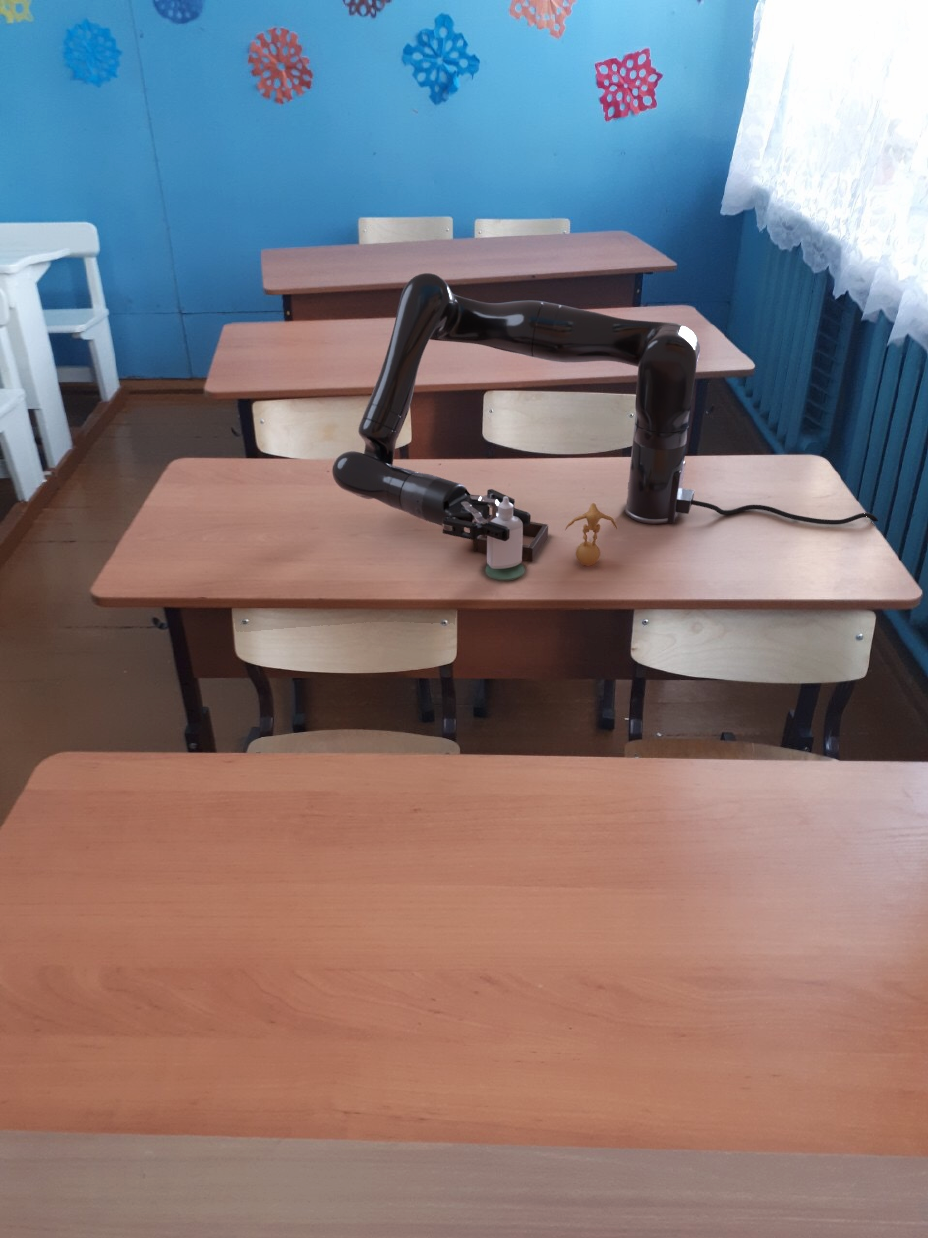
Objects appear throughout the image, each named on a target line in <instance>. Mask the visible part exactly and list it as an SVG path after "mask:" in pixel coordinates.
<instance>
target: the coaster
mask: <svg viewBox="0 0 928 1238" xmlns="http://www.w3.org/2000/svg"><path fill="white" fill-rule="evenodd" d="M485 574H486V576H488V577H489V578H490V579H493V580H495V581H503V582H508V581H509V582H511V581H514V580H518V579H519V578H521V577H522V576H523V575H524V574H525V566H524V565H523V563H522V562H521V563H520V564H518V565H516V566H513V567H510V568H504V569H493V568H491V567H490V566H489V564H488V563H487V565H485Z"/></svg>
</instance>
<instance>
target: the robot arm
mask: <svg viewBox="0 0 928 1238" xmlns="http://www.w3.org/2000/svg"><path fill="white" fill-rule="evenodd" d="M430 340H431V341H436V342H437V341H438V342H450V343H462V344H472V345H479V346H485V347H489V348H493V349H496V350H499V351H503V352H508V353H511V354H518V355H521V356H526V357H529V358H534V359H538V360H543V361H548V362H553V363H554V362H555V363H565V364H567V363H568V364H570V363H571V364H573V363H592V362H614V363H621V364H625V365H628V366H629V365H630V366H634V367H637V375H636V387H635V388H636V389H635V390H636V391H635V399H634V400H635V401H634V411H635V415H634V424H633V435H632V445H631V454H630V455H631V456H630V467H629V474H628V475H629V476H628V483H627V496H626V504H625V514H626V515H627V516H628V517H629V518H630V519H632V520H634V521H636V522H640V523H643V524H649V525H650V524H651V525H659V524H674V523H675V521H676V519H677V517H678V516H679V515H678V514H680V513H681V514H685V515H686V514H687V515H688V514H689V513H690V511H691V508H692V506H697V507H701V508H705V509H709V510H712V511H714V512H716V513H718V514H719V515H723V516H732V515H735V514H739V513H742V512H745V511H749V510H759V511H766V512H770V513H773V514H776V515H778V516H781V517H784V518H787V519H791V520H794V521H799V522H805V523H811V524H817V525H818V524H819V525H832V526H833V525H834V526H835V525H836V526H837V525H845V524H849V523H851V522H854V521H857V520H859V519H864V518H867V519H870V520H871V521H873V522H879V519H878V517H877V516H875V515H874V514H873V513H870V512H861V513H857V514H855V515H852V516H849V517H846V518H841V519H826V518H825V519H824V518H823V519H822V518H816V517H809V516H803V515H799V514H793V513H790V512H787V511H784V510H781V509H779V508H776V507H772V506H770V505H769V506H768V505H764V504H747V505H743V506H741V507H737V508H736V507H735V508H734V509H722V508H720V507H719V506H717V505H715V504H712V503H708V502H705V501H699V500H695V499H694V498H695V497H694V496H695V489H689V488H683V484H684V477H685V470H686V461H685V459H686V458H685V457H686V452H687V451H686V450H687V443H688V436H689V429H690V428H689V427H690V422H691V421H690V420H691V414H692V402H693V394H694V389H695V381H696V373H697V366H698V361H699V357H700V351H701V350H700V349H701V347H700V342H699V339H698V337H697V335H696V334H695V333H694V332H693V331H692V330H691V329H690V328H689V327H687V326H685V325H683V324H680V323H677V322H667V321H666V322H665V321H653V320H652V321H651V320H650V321H648V320H639V319H638V320H637V319H627V318H620V317H616V316H611V315H609V314H604V313H599V312H595V311H592V310H591V311H590V310H586V309H581V308H577V307H571V306H568V305H563V304H558V303H553V302H547V301H541V300H533V299H532V300H514V301H505V302H496V303H495V302H493V303H491V302H483V301H479V300H475V299H471V298H467V297H464V296H460V295H457V294H455V293H453V292H452V290H451V288H450V286H449V284H448V283H447V282H446V280H444V279H443V278H441V277H440V276H439V275H438V274H435V273H430V272H425V273H419V274H417V275H415V276H413V277H412V278H411V279H409V281H407V283H406V284H405V286H404V288H403V289H402V291H401V295H400V298H399V303H398V307H397V310H396V315H395V320H394V325H393V329H392V333H391V337H390V340H389V343H388V347H387V350H386V354H385V357H384V360H383V363H382V365H381V369H380V372H379V375H378V376H377V377H378V378H377V381H376V382H375V386H374V388H373V390H372V393H371V395H370V398H369V400H368V403H367V405H366V407H365V410H364V411H363V414H362V418H361V420H360V423H359V425H358V430H357V432H358V435H359V436H360V438H361V439H362V440H363V442H364V451H363V452H361V451H357V450H351V451H346V452H344V453H341V454H340V455H339V456H338V457H336V459H335V460H334V462H333V464H332V469H331V471H332V472H331V473H332V477H333V480H334V482H335V484H336V485H337V486H338V487H339V488H340V489H341V490H343V491H346V492H347V493H348V492H349V493H350V494H353V495H355V496H357V497H359V498H362V499H365V500H377V501H378V502H380V503H383V504H385V505H387V506H389V507H391V508H393V509H396V510H399V511H401V512H405V513H408V514H409V515H412V516H413V517H416V518H417V519H419V520H420V519H421V520H423V521H426V522H429V523H432V524H435V525H438V526H440V527H441V528H442V534H444V535H447V536H453V537H457V538H461V539H466V540H471V541H473V540H476V539H477V536H482V537H485V536H490V537H493V538H496V539H498V540H502V541H507V540H508V539H509V533H510V530H509V528H508V527H506V526H503V525H500V524H497V523H494V522H491V520H493V519H494V518H496V517H498V504H499V503H501V502H503V498H504V496H507V497H508V500H509V502H510V503H512V504H513V516H516V517H518V518H519V519H520V520H521V521H522V523H523V526H528V525H529V524H530V522H531V517H532V515H531V513H530V512H529V511H525V510H522V509H519V508H516V507H515V503H516V500H515V498H512V497H511V496H508V495H506V494H504V493H501V492H500V491H497V490H495V489H492V488H489V489H487V492H486V494H485V495H483V496H482V495H479V494H471V493H470V492H469V490H468V488H466V486H465V485H464V484H462V483H460V482H459V483H458V482H456V481H451V480H448V479H446V478H444V477H443V478H442V477H439V476H436V475H433V474H429V473H423V472H418V471H415V470H411V469H408V468H405V467H401V466H397V465H394V459H395V455H396V454H395V452H396V444H397V440H398V438H399V435H400V434H401V431H402V428H403V426H404V424H405V421H406V418H407V416H408V414H409V410H410V407H411V404H412V400H413V396H414V392H415V386H416V381H417V376H418V371H419V368H420V364H421V361H422V357H423V355H424V352H425V349H426V348H427V347H426V346H428V343H429V341H430ZM490 508H491V509H490ZM490 511H491V512H490ZM490 513H491V514H490ZM864 513H865V514H864ZM866 516H867V517H866ZM487 521H490V522H488V523H487ZM465 528H466V529H467V530H468V532H467V531H465Z"/></svg>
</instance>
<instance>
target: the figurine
mask: <svg viewBox="0 0 928 1238" xmlns="http://www.w3.org/2000/svg"><path fill="white" fill-rule="evenodd" d="M584 519H586V523H587V524H583V525H582V526H583V529H582V533H583V536H582V539H583V540H584V541H582V542H581V543H580V544H579V545H578V546H577V547H576V549H575V557H576V560H577V562H578V563H580V564H581V565H583V566H585V567H586V566H587V567H588V566H592V565H595V564H597V562H598V561H599V559H600V557H601V550H600V547H599V546H598V544H596V542H597V539H598V533H599V532H600V530H601V524H599V522H600V520H601V519H604V520H608V521H610V522H611V524H612V525H613V527H614V528H615V529H618V525H617V523H616V522H615V519H614V518H613V517H611V516H609V515H608V514H605V513H603V512H601V511H600V510H599V509H598V507H597V505H596V504H595V503H594V502H593V503H591V504H590V507H589V509H588V511H587V512H585V513H583V514H582V515H578V516H577V517H574V518H573V519H572V520H571V521H570V522H569V523H568V524H567V525H566V527H565V529H564V530H565V531H566V530H567V529H568V528H569V527H570V526H572V525H573V524H574V523H575V522H578V521H580V520H584ZM590 531H592V532H593V536H592V538H593V540H592V541H589V540H588V535H587V533H589V532H590Z"/></svg>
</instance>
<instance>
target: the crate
mask: <svg viewBox="0 0 928 1238" xmlns="http://www.w3.org/2000/svg"><path fill="white" fill-rule="evenodd" d="M488 522H490V521H487V523H488ZM548 534H549V524H547V523H541V522H536V521H530V524H529V525H528V526H523V536H527V537H531V538H533V539H532V541H531V543H530V544H529V545H528V544H523V543H522V561H528V562H533V561H534V559H535V558H536V556H537V555H538V553H539V552H540V550H541V548H542V547H543V545H544V544H545V542H546V541H547V539H548V537H549V535H548ZM472 550H473V552H478V553H482V554H487V536H485V537H482V536H477V539H476V540H472Z"/></svg>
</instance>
